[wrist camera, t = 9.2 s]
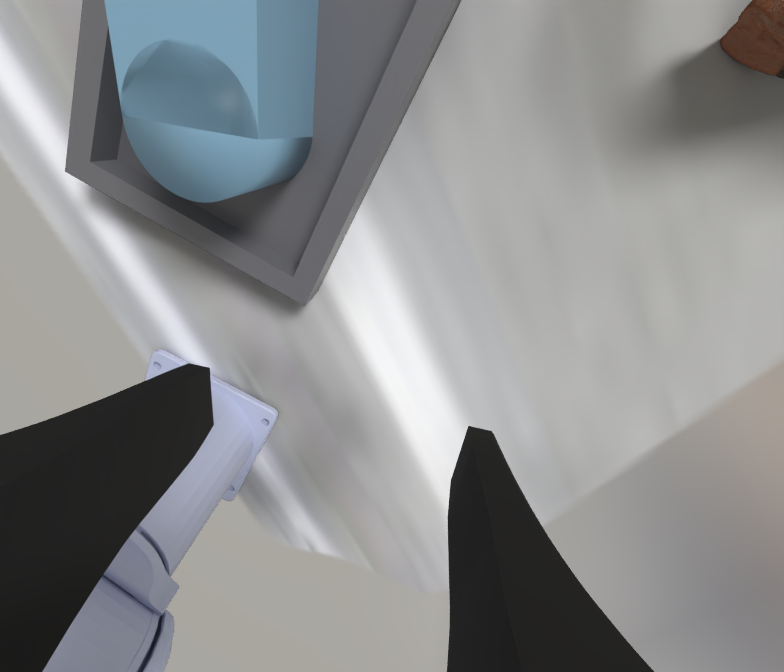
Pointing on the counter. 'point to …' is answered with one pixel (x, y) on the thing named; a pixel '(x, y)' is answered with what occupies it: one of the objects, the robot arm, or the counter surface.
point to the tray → (327, 154)
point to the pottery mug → (758, 37)
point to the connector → (216, 90)
